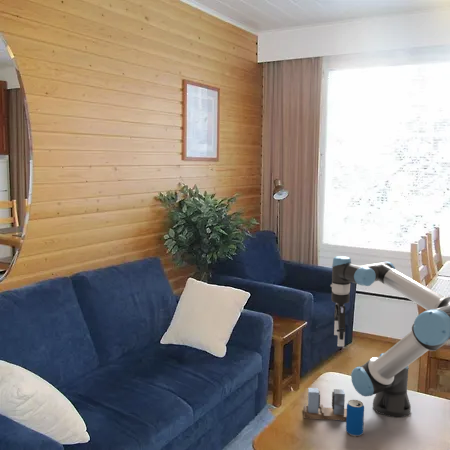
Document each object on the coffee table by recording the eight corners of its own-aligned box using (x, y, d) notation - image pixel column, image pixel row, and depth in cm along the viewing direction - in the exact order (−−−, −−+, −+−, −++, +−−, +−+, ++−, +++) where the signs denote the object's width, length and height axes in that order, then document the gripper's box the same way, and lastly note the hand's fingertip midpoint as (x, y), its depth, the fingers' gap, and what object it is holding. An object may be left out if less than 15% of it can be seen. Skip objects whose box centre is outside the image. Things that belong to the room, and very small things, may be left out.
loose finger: (308, 412, 209) (308, 392, 207) (307, 408, 212) (308, 387, 211) (319, 413, 208) (320, 392, 207) (319, 408, 212) (319, 388, 211)
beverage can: (360, 438, 192) (361, 408, 191) (343, 434, 196) (344, 404, 194) (365, 431, 198) (366, 401, 196) (349, 426, 201) (350, 397, 199)
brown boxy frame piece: (347, 412, 212) (348, 388, 211) (349, 420, 205) (350, 396, 204) (303, 409, 214) (304, 385, 213) (304, 418, 207) (304, 393, 206)
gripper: (329, 285, 230) (327, 330, 233) (334, 300, 206) (333, 350, 209) (345, 285, 230) (344, 331, 232) (353, 300, 205) (351, 351, 208)
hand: (339, 340), depth 220 cm, fingers open, 13 cm apart
